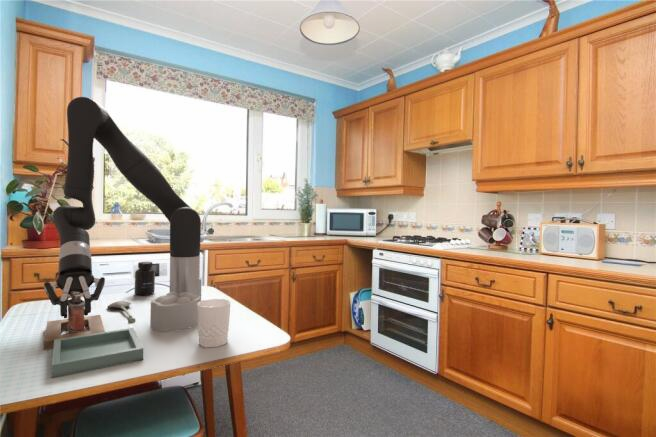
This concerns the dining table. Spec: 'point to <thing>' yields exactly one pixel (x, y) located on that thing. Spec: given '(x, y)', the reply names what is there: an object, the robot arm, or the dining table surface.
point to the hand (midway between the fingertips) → (76, 315)
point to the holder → (55, 333)
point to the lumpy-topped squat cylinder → (174, 312)
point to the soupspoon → (122, 305)
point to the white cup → (213, 322)
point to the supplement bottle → (144, 279)
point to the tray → (95, 351)
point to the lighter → (75, 313)
